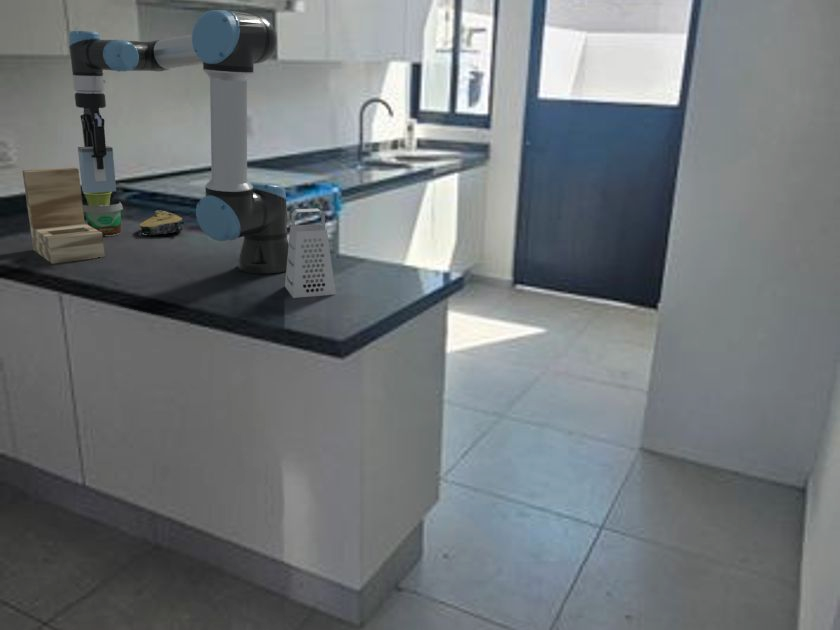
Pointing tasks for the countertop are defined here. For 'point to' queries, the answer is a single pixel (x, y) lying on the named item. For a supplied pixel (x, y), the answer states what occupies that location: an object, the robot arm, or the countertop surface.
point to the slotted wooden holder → (59, 216)
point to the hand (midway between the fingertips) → (98, 179)
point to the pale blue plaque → (89, 176)
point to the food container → (104, 218)
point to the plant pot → (98, 198)
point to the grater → (309, 259)
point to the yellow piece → (162, 223)
